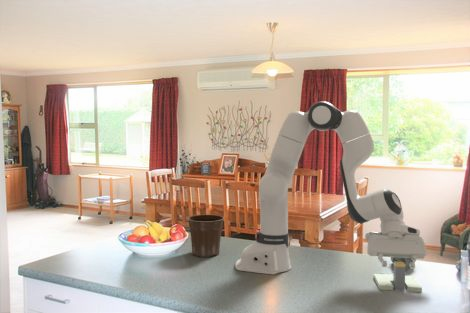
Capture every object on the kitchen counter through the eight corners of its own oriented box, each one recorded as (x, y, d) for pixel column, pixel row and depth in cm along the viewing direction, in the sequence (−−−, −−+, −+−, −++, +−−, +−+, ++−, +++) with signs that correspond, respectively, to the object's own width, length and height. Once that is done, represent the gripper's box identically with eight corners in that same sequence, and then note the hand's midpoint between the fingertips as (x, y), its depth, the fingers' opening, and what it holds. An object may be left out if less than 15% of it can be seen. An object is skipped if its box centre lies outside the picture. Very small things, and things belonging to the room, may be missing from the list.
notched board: (379, 289, 150) (379, 285, 150) (373, 277, 162) (373, 273, 162) (421, 291, 148) (421, 287, 148) (412, 279, 160) (412, 275, 160)
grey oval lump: (418, 264, 167) (407, 240, 170) (395, 273, 170) (384, 249, 173) (420, 263, 179) (409, 240, 183) (398, 271, 182) (387, 248, 186)
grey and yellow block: (395, 289, 150) (395, 264, 150) (393, 286, 153) (393, 261, 153) (404, 290, 150) (405, 264, 149) (402, 286, 153) (403, 261, 152)
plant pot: (187, 248, 199) (187, 214, 198) (222, 247, 201) (222, 213, 200) (187, 259, 183) (187, 221, 182) (225, 258, 185) (225, 221, 184)
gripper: (365, 227, 160) (369, 261, 151) (424, 230, 157) (430, 264, 148) (363, 236, 164) (366, 269, 155) (420, 238, 161) (426, 273, 152)
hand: (398, 267), depth 152 cm, fingers open, 8 cm apart
